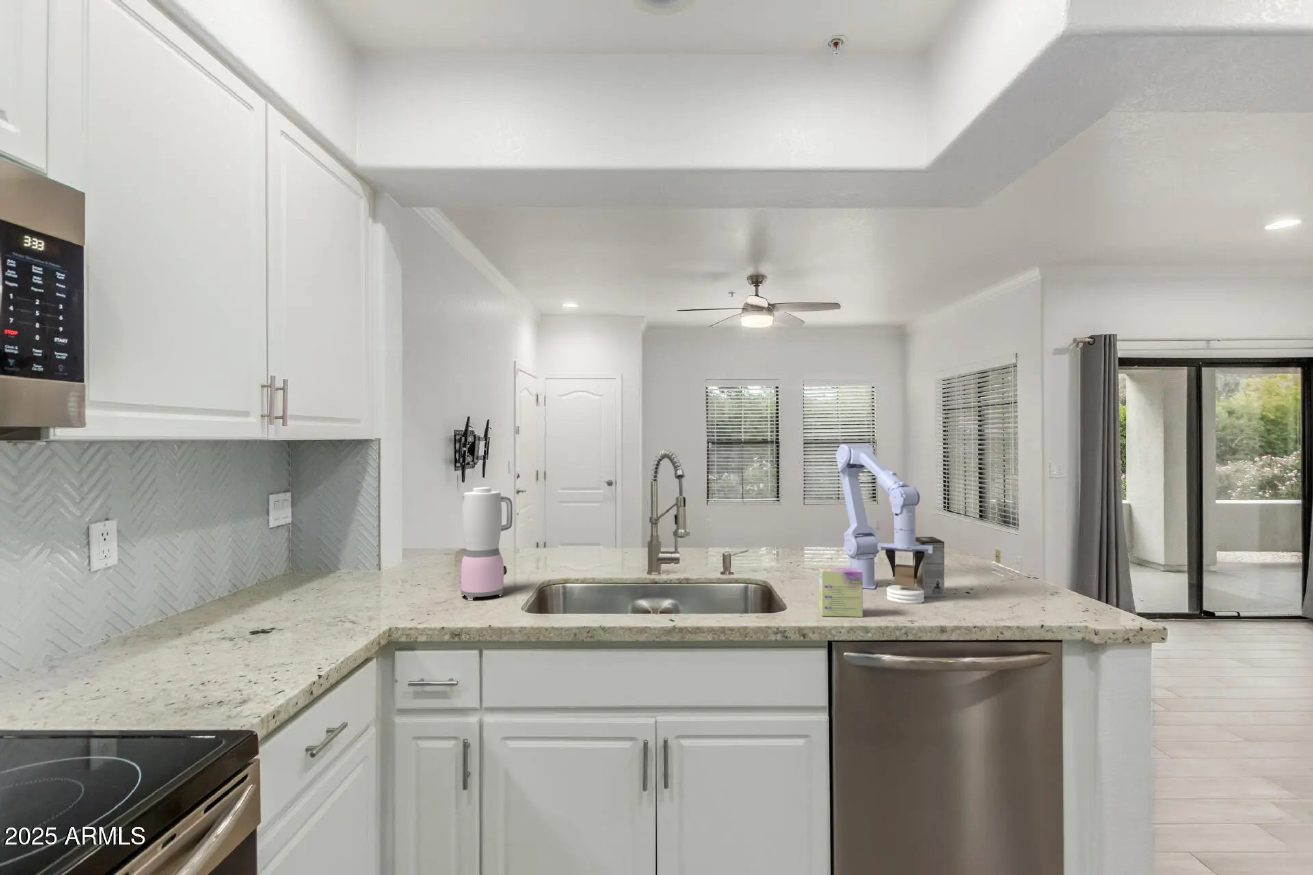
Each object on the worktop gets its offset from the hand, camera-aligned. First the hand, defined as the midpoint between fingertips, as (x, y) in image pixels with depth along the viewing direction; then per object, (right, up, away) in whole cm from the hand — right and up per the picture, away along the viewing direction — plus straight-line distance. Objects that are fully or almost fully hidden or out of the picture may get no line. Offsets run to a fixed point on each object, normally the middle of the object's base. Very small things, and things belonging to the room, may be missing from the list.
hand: (905, 577), depth 187 cm
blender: (-121, -8, +10) cm, 121 cm away
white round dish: (0, -7, 0) cm, 7 cm away
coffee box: (+10, -7, +8) cm, 14 cm away
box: (-22, -7, -14) cm, 27 cm away
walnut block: (0, -2, 0) cm, 2 cm away
